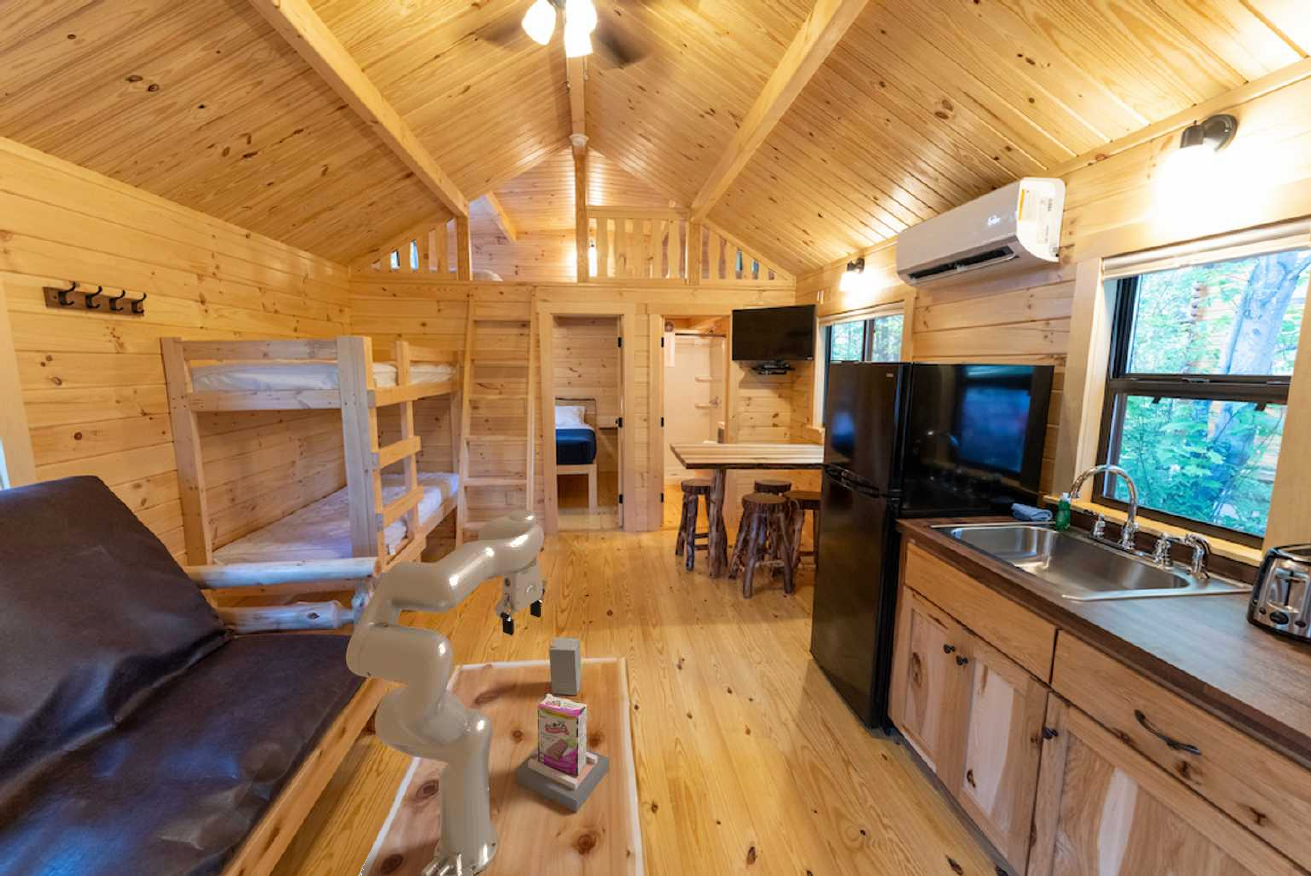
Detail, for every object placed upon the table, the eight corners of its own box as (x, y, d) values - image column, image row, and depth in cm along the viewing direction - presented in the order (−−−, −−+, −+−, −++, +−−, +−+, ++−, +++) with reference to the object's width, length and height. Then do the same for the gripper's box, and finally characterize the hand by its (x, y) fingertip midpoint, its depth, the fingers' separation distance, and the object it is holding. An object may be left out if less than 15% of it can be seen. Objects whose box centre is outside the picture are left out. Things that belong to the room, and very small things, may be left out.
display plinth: (576, 812, 115) (576, 795, 114) (515, 781, 123) (514, 765, 122) (609, 768, 127) (609, 752, 126) (551, 743, 135) (551, 728, 134)
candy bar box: (537, 765, 124) (536, 705, 121) (547, 750, 128) (547, 692, 126) (578, 778, 120) (578, 716, 117) (587, 763, 125) (587, 703, 122)
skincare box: (582, 683, 160) (582, 636, 158) (576, 698, 153) (576, 649, 151) (556, 680, 161) (555, 634, 158) (549, 695, 154) (548, 647, 151)
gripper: (506, 576, 116) (508, 645, 118) (555, 551, 131) (556, 613, 133) (483, 569, 119) (485, 636, 122) (533, 546, 134) (534, 606, 137)
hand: (522, 624), depth 128 cm, fingers open, 9 cm apart
